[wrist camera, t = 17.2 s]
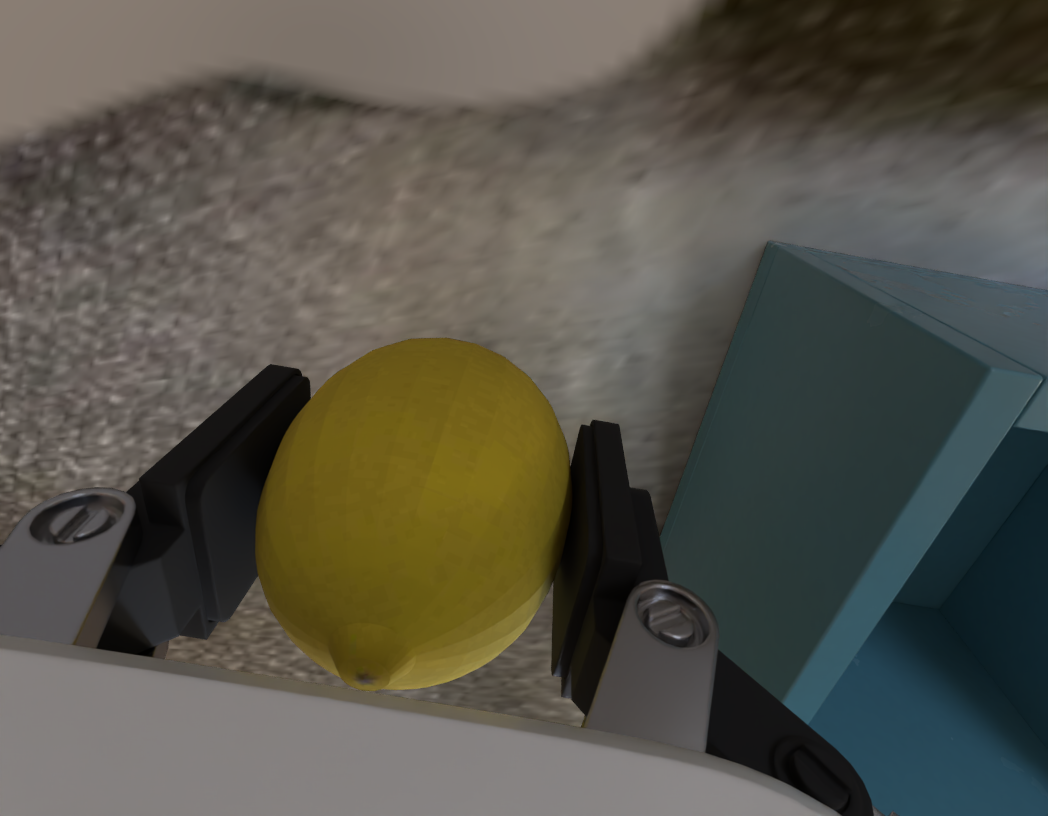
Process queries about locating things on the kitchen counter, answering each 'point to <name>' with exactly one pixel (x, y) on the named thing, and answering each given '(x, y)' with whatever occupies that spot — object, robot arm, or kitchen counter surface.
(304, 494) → the lemon
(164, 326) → the kitchen counter surface
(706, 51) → the kitchen counter surface
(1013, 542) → the teal box
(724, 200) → the kitchen counter surface
